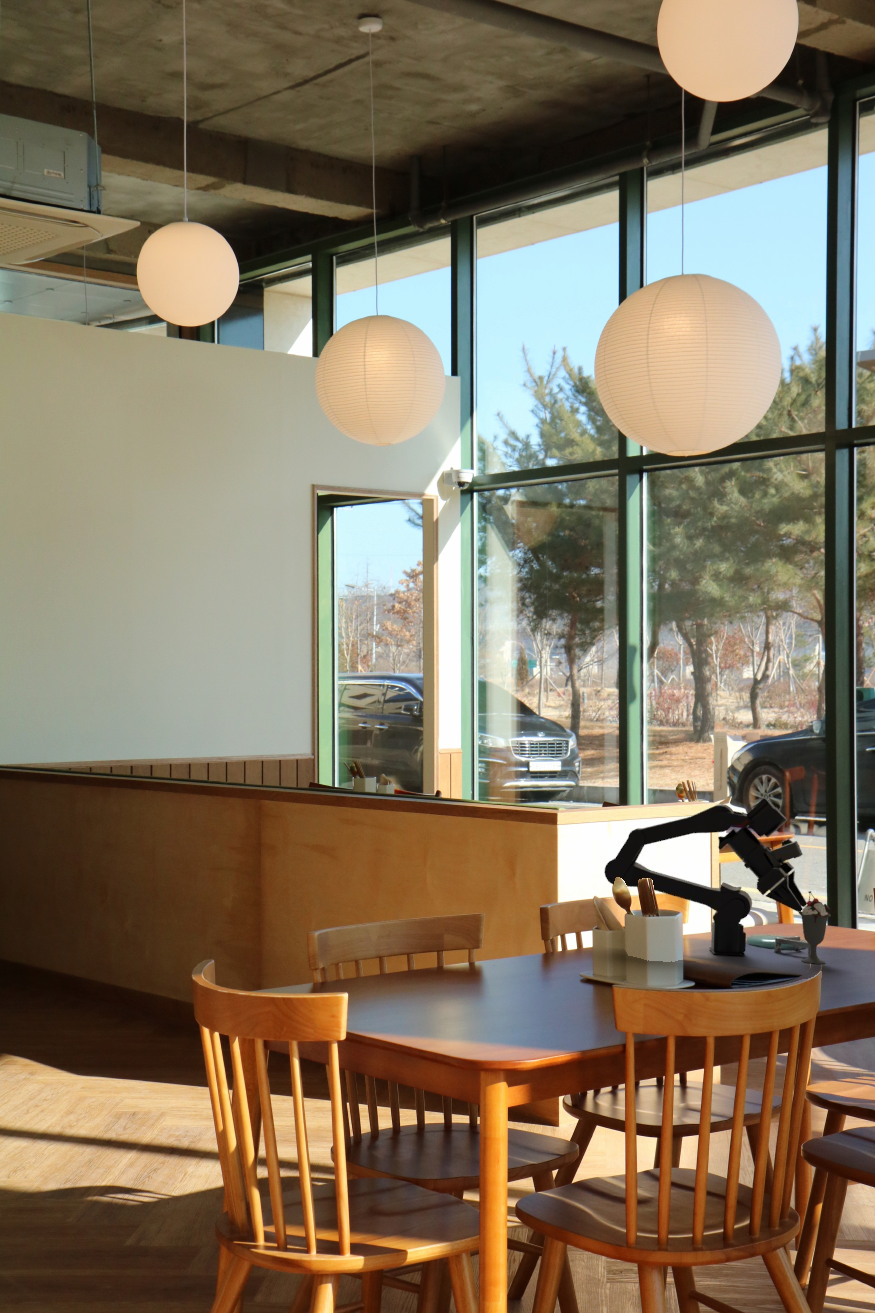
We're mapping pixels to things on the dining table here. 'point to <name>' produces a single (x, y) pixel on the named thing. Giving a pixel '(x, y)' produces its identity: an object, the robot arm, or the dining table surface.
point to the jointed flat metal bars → (791, 943)
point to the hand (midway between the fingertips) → (803, 908)
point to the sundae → (814, 926)
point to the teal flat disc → (767, 941)
